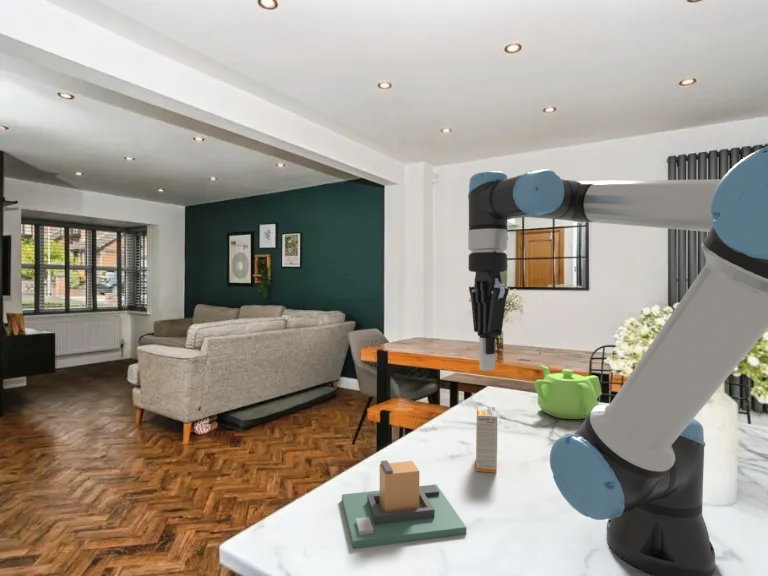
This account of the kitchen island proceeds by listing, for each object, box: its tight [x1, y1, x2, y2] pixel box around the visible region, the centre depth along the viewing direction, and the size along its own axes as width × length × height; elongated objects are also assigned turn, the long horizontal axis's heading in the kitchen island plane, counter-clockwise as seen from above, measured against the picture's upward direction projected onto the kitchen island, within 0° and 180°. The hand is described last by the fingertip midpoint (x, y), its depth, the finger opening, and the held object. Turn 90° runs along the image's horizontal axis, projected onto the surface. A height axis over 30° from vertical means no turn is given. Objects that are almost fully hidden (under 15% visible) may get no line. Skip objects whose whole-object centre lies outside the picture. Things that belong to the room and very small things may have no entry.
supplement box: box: [475, 405, 498, 474], centre depth 105 cm, size 8×5×13 cm, turn 168°
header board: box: [341, 484, 467, 549], centre depth 83 cm, size 16×20×3 cm
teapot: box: [533, 364, 603, 420], centre depth 145 cm, size 19×20×14 cm
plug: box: [379, 459, 420, 512], centre depth 83 cm, size 4×6×9 cm
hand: (486, 369), depth 89 cm, fingers closed
